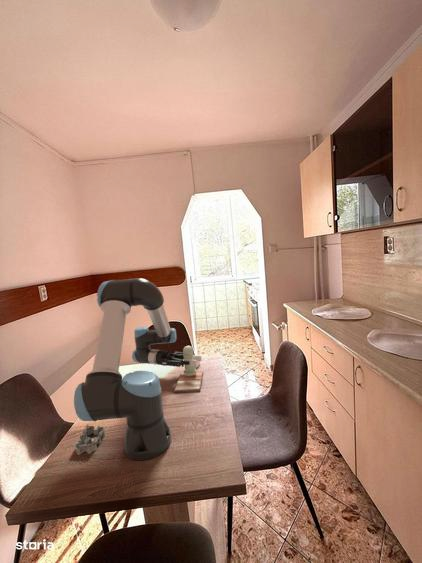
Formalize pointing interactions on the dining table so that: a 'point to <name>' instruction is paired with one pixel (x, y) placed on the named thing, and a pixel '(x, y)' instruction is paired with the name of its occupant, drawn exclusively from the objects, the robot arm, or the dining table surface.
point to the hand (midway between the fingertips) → (198, 360)
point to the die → (197, 364)
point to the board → (189, 383)
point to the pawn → (190, 355)
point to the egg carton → (89, 439)
